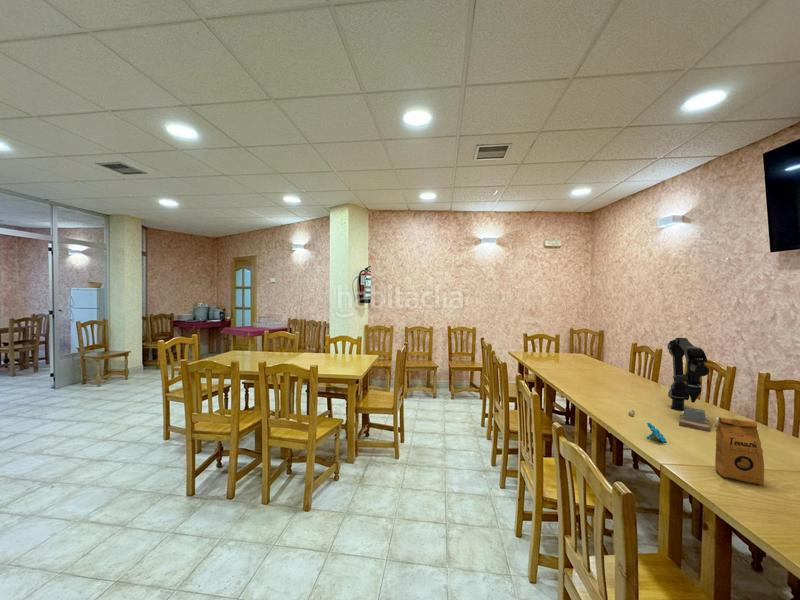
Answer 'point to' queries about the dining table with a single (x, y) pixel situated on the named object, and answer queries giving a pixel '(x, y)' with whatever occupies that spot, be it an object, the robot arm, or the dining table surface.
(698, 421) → the housing
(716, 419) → the cream thin sliver
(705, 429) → the stand
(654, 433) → the blue t-shaped bar
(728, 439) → the coffee package
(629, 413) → the loose bolt
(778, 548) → the dining table surface
